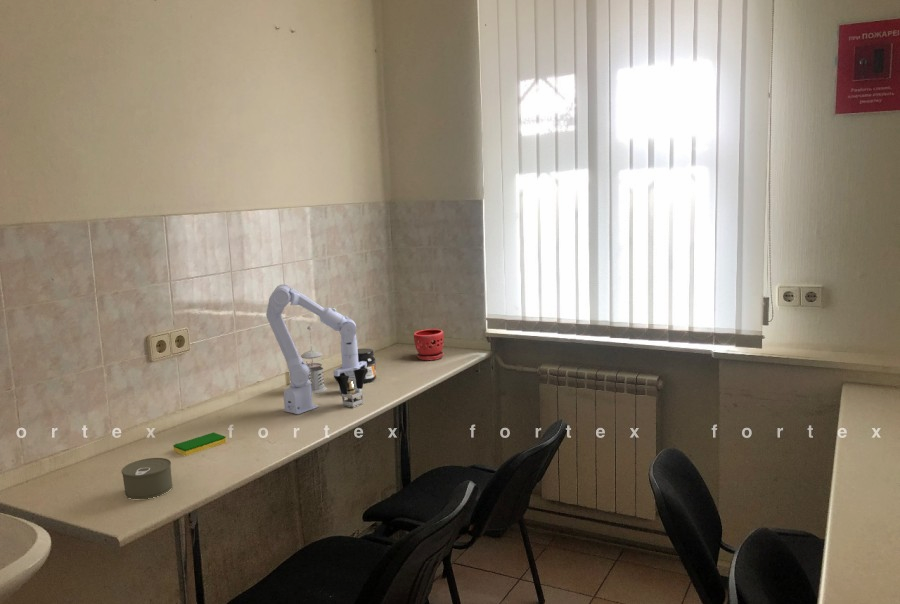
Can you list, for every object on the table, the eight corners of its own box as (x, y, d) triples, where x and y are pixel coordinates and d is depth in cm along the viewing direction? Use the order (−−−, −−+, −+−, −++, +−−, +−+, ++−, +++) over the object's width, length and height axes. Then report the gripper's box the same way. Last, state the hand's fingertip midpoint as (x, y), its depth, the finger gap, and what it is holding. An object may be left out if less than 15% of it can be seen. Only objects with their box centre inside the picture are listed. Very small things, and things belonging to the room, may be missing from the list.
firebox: (353, 407, 257) (352, 395, 256) (343, 405, 260) (342, 393, 259) (363, 403, 261) (362, 391, 260) (353, 401, 264) (352, 389, 263)
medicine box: (362, 389, 279) (361, 367, 277) (359, 393, 274) (358, 370, 273) (342, 390, 279) (340, 368, 278) (339, 393, 275) (337, 371, 274)
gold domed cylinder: (352, 404, 258) (349, 383, 257) (346, 404, 260) (342, 382, 259) (359, 401, 260) (355, 380, 259) (353, 401, 262) (349, 379, 261)
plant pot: (432, 353, 332) (430, 327, 330) (450, 357, 322) (449, 331, 320) (409, 358, 324) (407, 332, 322) (427, 363, 314) (425, 336, 312)
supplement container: (372, 384, 286) (370, 354, 284) (346, 383, 288) (344, 354, 286) (379, 376, 296) (377, 347, 294) (354, 376, 298) (352, 347, 296)
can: (179, 480, 199) (177, 456, 198) (164, 499, 188) (161, 474, 186) (135, 482, 199) (132, 458, 198) (116, 502, 187) (113, 476, 186)
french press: (330, 386, 286) (325, 323, 282) (322, 394, 274) (317, 329, 270) (305, 386, 287) (300, 323, 283) (296, 395, 275) (291, 329, 271)
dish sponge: (173, 452, 222) (172, 444, 222) (214, 439, 232) (213, 431, 232) (185, 457, 217) (184, 449, 217) (226, 443, 227) (226, 436, 227)
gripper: (342, 359, 249) (345, 398, 251) (372, 350, 260) (374, 387, 263) (328, 357, 253) (331, 395, 256) (357, 348, 265) (360, 384, 267)
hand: (352, 391), depth 259 cm, fingers open, 7 cm apart
